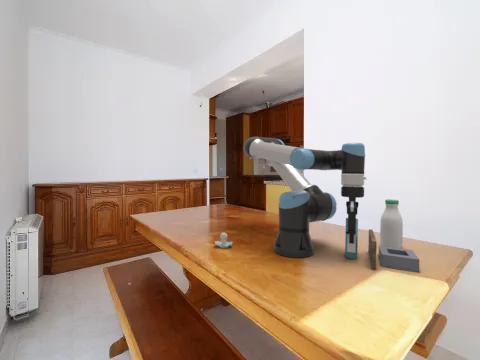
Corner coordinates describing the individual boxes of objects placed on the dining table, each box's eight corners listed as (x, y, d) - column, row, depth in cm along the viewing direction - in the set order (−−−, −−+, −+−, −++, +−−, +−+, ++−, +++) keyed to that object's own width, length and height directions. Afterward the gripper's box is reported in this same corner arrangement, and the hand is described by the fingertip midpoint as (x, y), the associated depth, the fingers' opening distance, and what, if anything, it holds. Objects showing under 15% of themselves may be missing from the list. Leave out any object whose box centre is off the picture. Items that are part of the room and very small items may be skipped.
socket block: (381, 266, 76) (381, 254, 76) (378, 256, 85) (378, 246, 85) (419, 272, 72) (419, 259, 72) (411, 261, 81) (412, 250, 81)
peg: (345, 257, 84) (345, 219, 83) (345, 254, 87) (346, 217, 87) (357, 259, 82) (358, 220, 82) (357, 256, 86) (357, 218, 85)
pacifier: (216, 244, 100) (214, 248, 94) (216, 230, 100) (214, 233, 94) (233, 245, 99) (232, 249, 93) (233, 230, 99) (232, 233, 93)
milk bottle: (406, 251, 91) (407, 201, 90) (384, 250, 92) (385, 200, 92) (396, 245, 98) (397, 199, 98) (377, 244, 100) (377, 198, 99)
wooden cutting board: (371, 269, 74) (372, 241, 74) (368, 252, 90) (368, 229, 90) (375, 269, 73) (376, 241, 73) (371, 252, 90) (372, 229, 89)
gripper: (365, 187, 75) (363, 259, 75) (363, 185, 90) (362, 244, 91) (340, 186, 78) (338, 255, 79) (342, 184, 93) (341, 242, 94)
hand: (351, 249), depth 85 cm, fingers closed on peg, 4 cm apart
